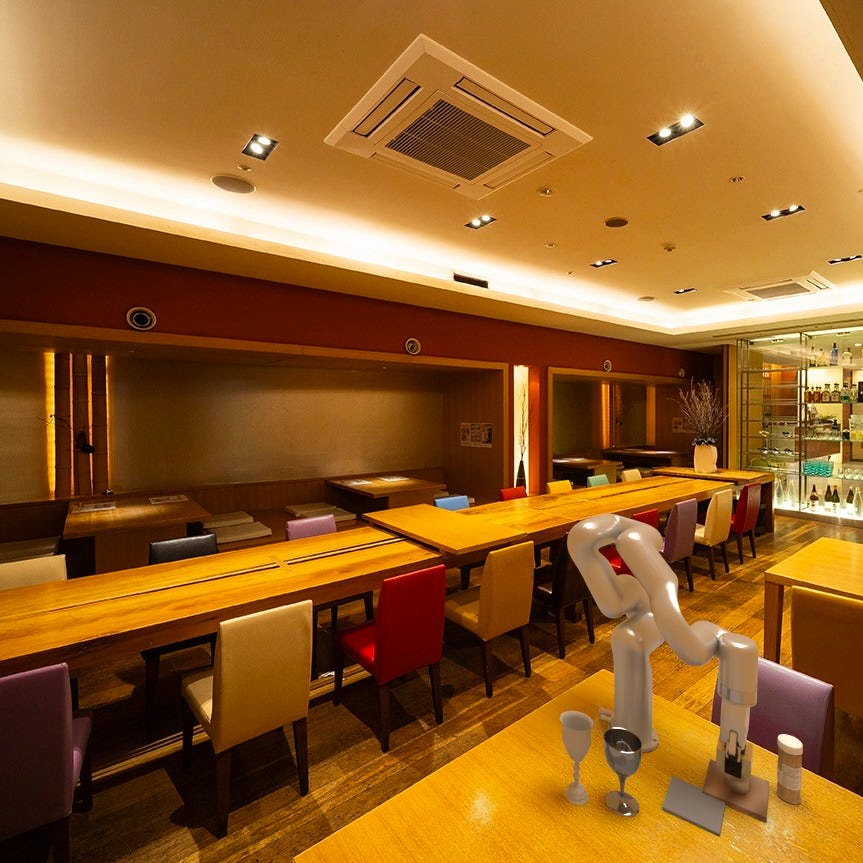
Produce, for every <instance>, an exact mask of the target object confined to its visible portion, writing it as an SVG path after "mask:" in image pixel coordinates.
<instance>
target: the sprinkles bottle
mask: <svg viewBox="0 0 863 863" xmlns="http://www.w3.org/2000/svg"><path fill="white" fill-rule="evenodd" d="M776 740H777V747H778V748H777V752H778V753H777V767H776V768H777V771H776V775H777V776H776V779H777V784H776V785H777V787H776V793H777V796H778V797H779V798H780V799H782V800H783V801H785V802H787V803H789V804H792V805H798V804H801V803H802V798H801V792H802V790H801V789H802V774H803V773H802V772H803V770H802V769H803V766H802V757H803V752H804V750H803V749H804V748H803V746H804V745H803V743H802V742H801V740H799V739H798V738H797V737H795V736H793V735H789V734H784V733H782V734H779V735H778V736H777V739H776Z"/></svg>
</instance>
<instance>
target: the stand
mask: <svg viewBox="0 0 863 863" xmlns="http://www.w3.org/2000/svg"><path fill="white" fill-rule="evenodd" d="M736 753H738V751H736ZM702 788H703V790H702V793H704V794H706V795H708V796H711V797H713V798H715V799H718V800H720V801H722V802H725V807H726V806H727V807H728V808H731V809H733V810H735V811H738V812H740V813H743V814H745V815H747V816H749V817H752V818H754V819H757V820H758V821H761V822H763V823H764V824H765V823H767V821H768V806H769V795H770V793H769V791H770V781H769V780H767V779H765V778H761V777H758V776H756V775H753V774H751V777H750V778H747V777H745V776H742V775H741V778H740V779H739V778H737V777H734V776H732V775H729V774H727V773H725V772H724V768H723V767H720V766H718V765H716V760H714V759H712V758H710V759H709V762H708V766H707V771H706V774H705V778H704V782H703V787H702Z"/></svg>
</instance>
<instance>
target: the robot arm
mask: <svg viewBox="0 0 863 863" xmlns="http://www.w3.org/2000/svg"><path fill="white" fill-rule="evenodd" d="M566 544H567V550H568V551H567V552H568V554H569V555H570V558H571V559H572V562H574V564H575V566H576V567H577V569H578V570H579V573H580V574H581V576H582V578H583V580H584V582H585V584H586V586H587V588H588V590H589V592H590V594H591V596H592V598H593V599H594V602H595V603H596V605H597V607H598V609H599V610H600V612H601V613H602V615H604V617H607V618H610V619H619V618H620V617H623V616H624V615H625V616H626V617H627V618H626V619H625V620H623V621H621V622H620V623H618V624H617V625H616V626H615V627H614V629H613V631H612V632H611V635H610V645H611V651H612V652H611V653H612V657H613V688H614V689H613V709H611V710H609V709H607V708H605V707H602V706H599V710H598V714H599V715H600V720H601V721H604V722H608V724H607V729H610V728H623V729H627V730H629V731H631V732H633V733H634V734H636V735H637V736H638V737H639V738H640V740H641V743H642V753H647V752H651V751H654V750H655V749H657V748H658V746H659V744H660V743H659V741H660V739H659V734H658V733H657V730H655V728H654V727H653V696H654V695H653V694H654V693H653V670H652V669H653V668H652V666H651V662H650V655H651V653H653V652H654V651H655V650H656V649H657V648H659V647H660V646H661V645H663V643H664V642H666V643H667V645H668V647H669V648H670V649H671V651H672V652H673V653H674V655H675V656H676V657H677V658H678V659H679V660H680V661H681V662H683V663H684V664H686V665H688V666H691V667H693V668H694V667H695V668H697V667H699V668H700V667H702V666H705V665H706V664H708V663H709V662H710V661H711V660H712V659H713V658H715V657H716V658H718V664H717V665H718V668H717V669H718V670H717V694H718V696H719V697H720V698H721V708H720V722H719V723H720V725H719V735H720V737H718V739H719V741H720V742H721V743H724V744H725V743H726V742H727V743H726V755H725V765H724V772H725V773H727V774H729V775H732V776H734V777H737V778H739V779H740V778H741V771H742V761H741V760H740V759H741V750H744V748H745V743H746V742H747V737H748V732H749V726H750V713H751V712H750V711H751V708H752V707H755V706H756V705H757V703H758V701H757V700H758V672H759V646H758V644H757V643H756V641H755V640H753V639H751V638H750V637H748V636H746V635H743V634H739V633H736V632H735V633H733V632H731V631H730V630H727V629H725V628H724V627H721V626H719V625H717V624H716V623H713V622H711V621H707V620H698V621H695V622H694V623H692V624H691V625H690V624H689V623H688V622H687V620H686V619H685V618H684V616H683V614H682V613H683V612H682V611H681V609H680V605H679V600H678V593H679V591H678V590H679V579H678V576H677V575H676V573H675V572H674V571H673V570H672V567H670V565H669V564H668V563H667V562H666V560H665V559H664V558H663V556H662V554H661V553H660V552H661V550H662V549H663V547H664V540H663V537H662V535H661V532H659V531H658V529H656V528H655V527H653V526H652V525H650V524H647V523H645V522H641V521H638V520H636V519H631V518H628V517H625V516H621V515H619V514H615V513H602V514H598V515H595V516H592V517H589V518H585V519H582V520H581V521H579V522H577V523H576V524H575V525H573V527H572V528H571V529H570V531H569V533H568V536H567V541H566ZM611 544H615V549H616V551H617V553H618V554H619V556H620V557H621V559H622V560H623V561H624V563H625V564H626V566H627V567H628V569H629V570H630V571H631V573H632V574H633V576H632V575H630V574H626V573H625V574H619V575H617V573H616V571H614V568H613V566H612V565H611V563H610V561H609V560H608V559H607V557H606V556H604V555H603V554H602V553H601V552H600V551H599V549H601V548H602V547H605V546H607V545H611ZM729 740H730V742H729ZM736 742H737V743H739V746H738V745H736ZM736 749H738V755H737V753H736Z"/></svg>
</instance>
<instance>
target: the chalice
mask: <svg viewBox="0 0 863 863" xmlns="http://www.w3.org/2000/svg"><path fill="white" fill-rule="evenodd" d="M559 720H560V722H561V726H562V730H561V732H562V734H561V737H562V742H563V745H564V748H565V750H566V752H567V754H568V757H569V758H570V759H571V761H573V762H574V763H573V765H572V769H573V773H572V777H573V781H571V782H569V784H568V786H567V788H566V790H565V792H564V794H565V797H566V799H567V800H568V802H570V803H571V804H573V805H577V806H583V805H586V804H587V802H588V801H589V796H588V794H587V791H586V788H585V786H584V785H583V784H582V783H581V782H579V780H580V779H581V776H582V775H581V774H580V770H581V767H580V764H579V763H581V762H583V761H584V759H585V757H586V756H587V754H588V753H589V750H590V748H591V744H592V743H591V742H592V737H591V736H592V733H591V732H592V728H593V726H594V721H593V719H592V718H591V717H590V716H589V715H587V714H586V713H583V712H581V711H577V710H567V711H564V712H562V713H561V714H560V717H559Z"/></svg>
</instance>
